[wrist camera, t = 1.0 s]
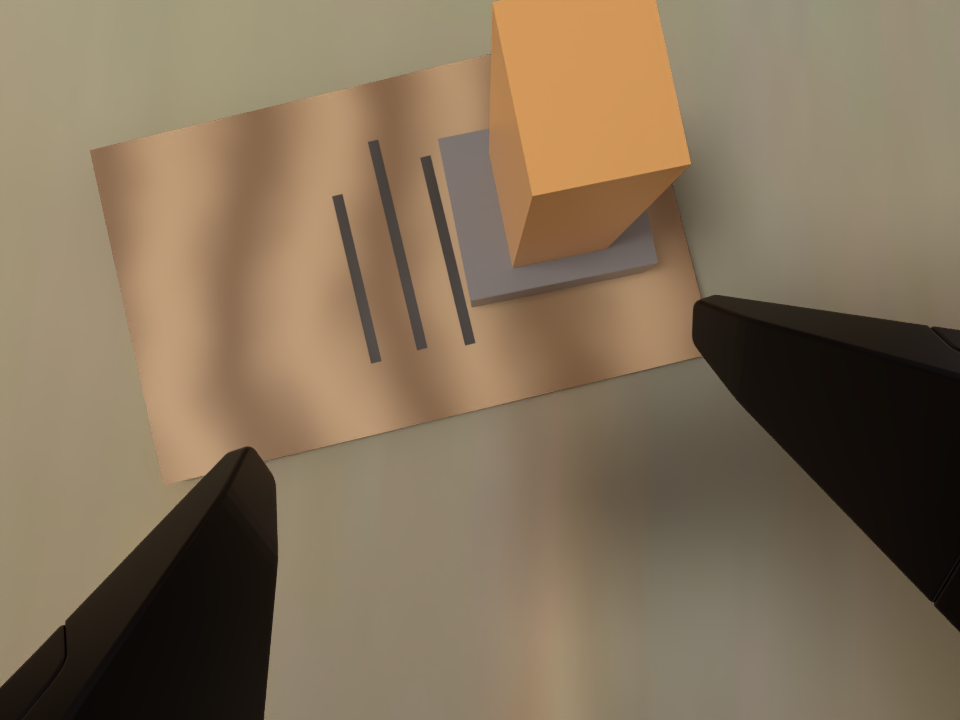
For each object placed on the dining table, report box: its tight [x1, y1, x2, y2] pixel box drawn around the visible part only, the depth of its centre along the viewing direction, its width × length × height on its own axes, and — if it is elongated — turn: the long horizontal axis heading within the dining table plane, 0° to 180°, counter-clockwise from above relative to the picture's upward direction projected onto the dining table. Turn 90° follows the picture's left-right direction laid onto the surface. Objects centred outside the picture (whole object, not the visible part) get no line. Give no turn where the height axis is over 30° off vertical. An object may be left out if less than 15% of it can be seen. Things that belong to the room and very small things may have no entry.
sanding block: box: [438, 0, 691, 307], centre depth 17 cm, size 8×7×10 cm
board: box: [90, 54, 702, 485], centre depth 22 cm, size 26×16×1 cm, turn 103°
